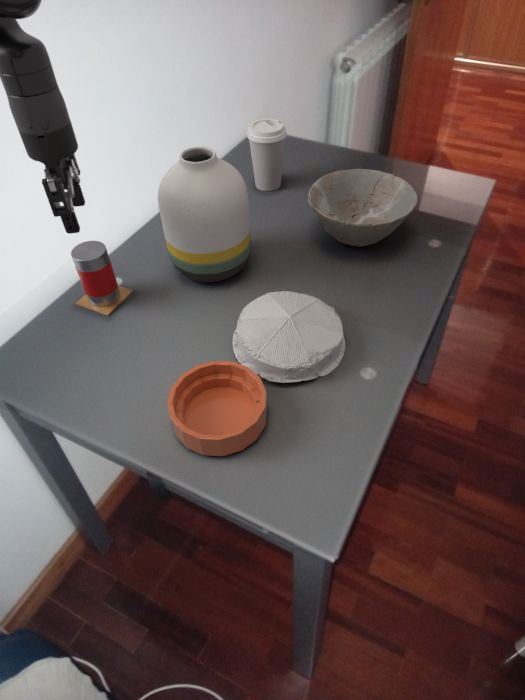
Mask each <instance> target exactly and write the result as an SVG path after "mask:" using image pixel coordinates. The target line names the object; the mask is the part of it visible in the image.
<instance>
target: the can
mask: <svg viewBox="0 0 525 700" xmlns="http://www.w3.org/2000/svg"><path fill="white" fill-rule="evenodd" d="M70 257H71V259H72V262H73V263H74V266H75V267H74V268H75V270H76V273H77V275H78V278H79V281H80V283H81V286H82V289H83V291H84V293H85V294H86V295H87V298H88V301H89V303H90V304H91V305H93V306H95V307H106V306H109V305H112V304H114V303H115V302H116V301H117V300H118V299H119V298H120V291H119V287H118V285H119V284H118V280H117V277H116V274H115V271H114V267H113V265H112V261H111V258H110V255H109V253H108V249H107V246H106V245H105V244H104V243H103V242H102V241H100V240H87V241H83V242H80V243H78V244H77V245H76V246H74V247H73V248H72V249H71V251H70Z"/></svg>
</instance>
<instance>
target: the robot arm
mask: <svg viewBox="0 0 525 700" xmlns="http://www.w3.org/2000/svg"><path fill="white" fill-rule="evenodd" d="M42 1H43V0H0V81H1V83H2V86H3V89H4V91H5V94H6V98H7V102H8V106H9V109H10V112H11V115H12V117H13V121H14V123H15V125H16V128H17V130H18V133H19V136H20V138H21V141H22V144H23V146H24V149H25V151H26V154H27V156H28V158H30V159H31V160H32V161H35V162H39V163H41V164H42V165H44V169H43V174H44V178H41V184H42V186H43V189H44V192H45V195H46V197H47V200H48V204H49V206H50V209H51V212H52V215H53V217H55V218H56V217H58V218H59V217H60V220H61V222H62V225H63V228H64V230H65V233H66V234H69V235H70V234H78V233H80V231H81V227H80V224H79V220H78V217H77V214H76V212H75V207H84V206H85V205H86V200H85V196H84V192H83V191H82V187H81V178H80V176H81V170H80V167H79V164H78V161H77V158H76V155H75V153H76V152H77V151H78V149H79V144H78V141H77V137H76V133H75V130H74V128H73V124H72V120H71V118H70V114H69V111H68V107H67V104H66V101H65V98H64V96H63V94H62V91H61V89H60V86H59V85H58V80H57V78H56V74H55V70H54V68H53V64H52V60H51V58H50V55H49V52H48V50H47V47H46V46H45V44H44V42H43V41H41V40H40V39H39V38H37V37H35V36H34V35H31V34H29V33H28V32H26V31H24V29H23V28H22V27H21V25H20V23H19V22H18V20H25V19H28V18H30V17H32V16H33V15H34V14H36V12H37V11H38V10H39V8H40V7H41V4H42ZM61 203H62V205H61Z"/></svg>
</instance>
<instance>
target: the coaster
mask: <svg viewBox="0 0 525 700" xmlns="http://www.w3.org/2000/svg"><path fill="white" fill-rule="evenodd" d="M118 287H119V291H120V298H119V299H118V300H117V301H116V302H115V303H114V304H112V305H109V306H106V307H95V306H93V305H91V304H90V303H89V301H88V298H87V295H86V293H85V294H84V295H83V296H82V297H81V298H79V299H78V300H77V301H76V302H75V306H78V307H80V308H83V309H86V310H89V311H92V312H95V313H97V314H100V315H104V316H106V317H109V316H111V314H112V313H113V312H114V311H116V309H117V308H119V306H120V305H121V304H123V303H124V302H125V301H126V300H127V299H128V298H129V296H131V295H132V294H133V293H134V289H130V288H127V287H125V286H122V285H120V284H118Z"/></svg>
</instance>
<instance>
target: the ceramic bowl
mask: <svg viewBox="0 0 525 700" xmlns="http://www.w3.org/2000/svg"><path fill="white" fill-rule="evenodd" d="M307 196H308V197H307V202H308V204H309V206H310V207H311V209H312V210H313V211H314V212H315V214H316V215H317V217H318V218H319V220H320V222H321V224H322V226H323V229H324V231H326V233H328V234H329V235H330V236H331V237H332V238H334V239H335V240H336V241H338V242H340V243H341V244H343V245H349V246H350V247H367V246H369V245H370V246H371V245H374V244H376V243H378V242H379V241H381V240H384V239H385V238H386V237H387V236H389V235H391V234H392V233H393V232H394V231H395V230H396V229H397V228H398V227H399V226H400V225H401V224H402V223H403V222H404V221H405V220H406V219H407V218H408V217H409V216H410V214H411V213H412V212H413V211H414V209H415V208H416V205H417V204H418V195H417V192H416V191H415V189H414V188H413V186H412V184H410V183H408V181H406V180H405V179H403V178H401V177H400V176H395V174H393V173H389V172H385V171H382V170H376V169H367V168H351V169H340V170H336V171H333V172H330V173H326V174H325V175H323V176H321V177H320V178H318V179H317V181H315V182H314V183H313V184H312V186H311V187H310V188H309V191H308V195H307Z"/></svg>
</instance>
